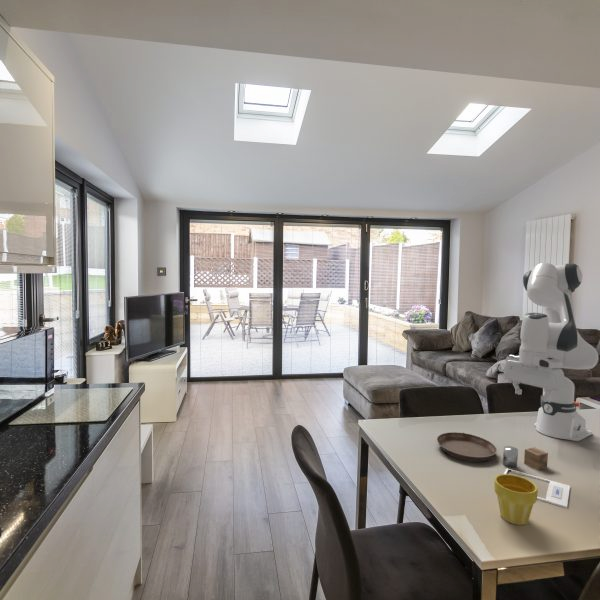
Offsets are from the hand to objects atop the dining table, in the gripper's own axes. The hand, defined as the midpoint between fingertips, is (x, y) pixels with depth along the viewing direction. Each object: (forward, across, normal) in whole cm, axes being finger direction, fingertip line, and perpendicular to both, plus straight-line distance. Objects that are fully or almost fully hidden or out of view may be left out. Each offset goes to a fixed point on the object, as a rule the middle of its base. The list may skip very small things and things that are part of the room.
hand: (530, 397), depth 143 cm
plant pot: (+25, +20, -36) cm, 48 cm away
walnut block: (+23, +3, 0) cm, 23 cm away
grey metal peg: (+23, 0, -9) cm, 25 cm away
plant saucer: (+23, -15, -14) cm, 31 cm away
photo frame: (+24, +12, -15) cm, 31 cm away
